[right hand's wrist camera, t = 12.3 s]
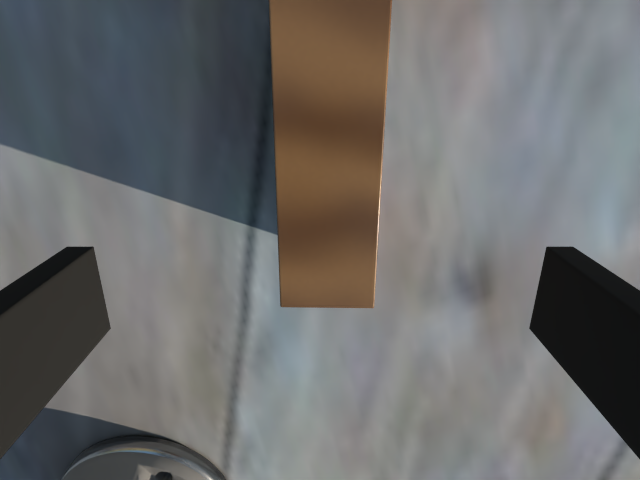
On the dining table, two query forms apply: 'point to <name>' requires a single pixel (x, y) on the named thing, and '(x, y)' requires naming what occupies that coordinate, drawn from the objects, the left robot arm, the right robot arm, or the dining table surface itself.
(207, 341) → the dining table surface
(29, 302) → the right robot arm
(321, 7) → the board
